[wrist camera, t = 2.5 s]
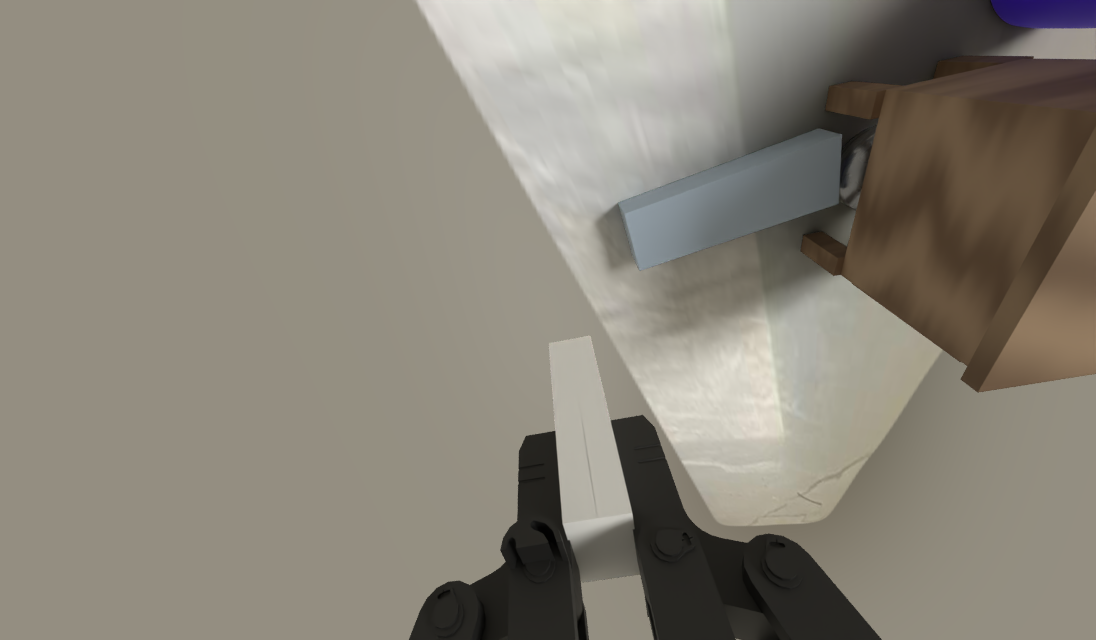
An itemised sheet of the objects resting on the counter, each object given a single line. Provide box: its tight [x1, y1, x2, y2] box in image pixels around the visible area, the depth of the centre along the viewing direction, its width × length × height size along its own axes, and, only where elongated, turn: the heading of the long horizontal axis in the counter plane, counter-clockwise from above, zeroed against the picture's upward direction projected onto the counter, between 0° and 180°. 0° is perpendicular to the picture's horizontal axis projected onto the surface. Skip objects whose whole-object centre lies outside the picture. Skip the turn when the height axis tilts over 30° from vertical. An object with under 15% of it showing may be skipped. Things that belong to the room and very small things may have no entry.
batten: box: [618, 128, 842, 271], centre depth 30 cm, size 5×15×3 cm, turn 111°
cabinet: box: [801, 56, 1096, 392], centre depth 23 cm, size 14×8×16 cm, turn 12°
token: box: [839, 125, 877, 210], centre depth 29 cm, size 6×6×2 cm
